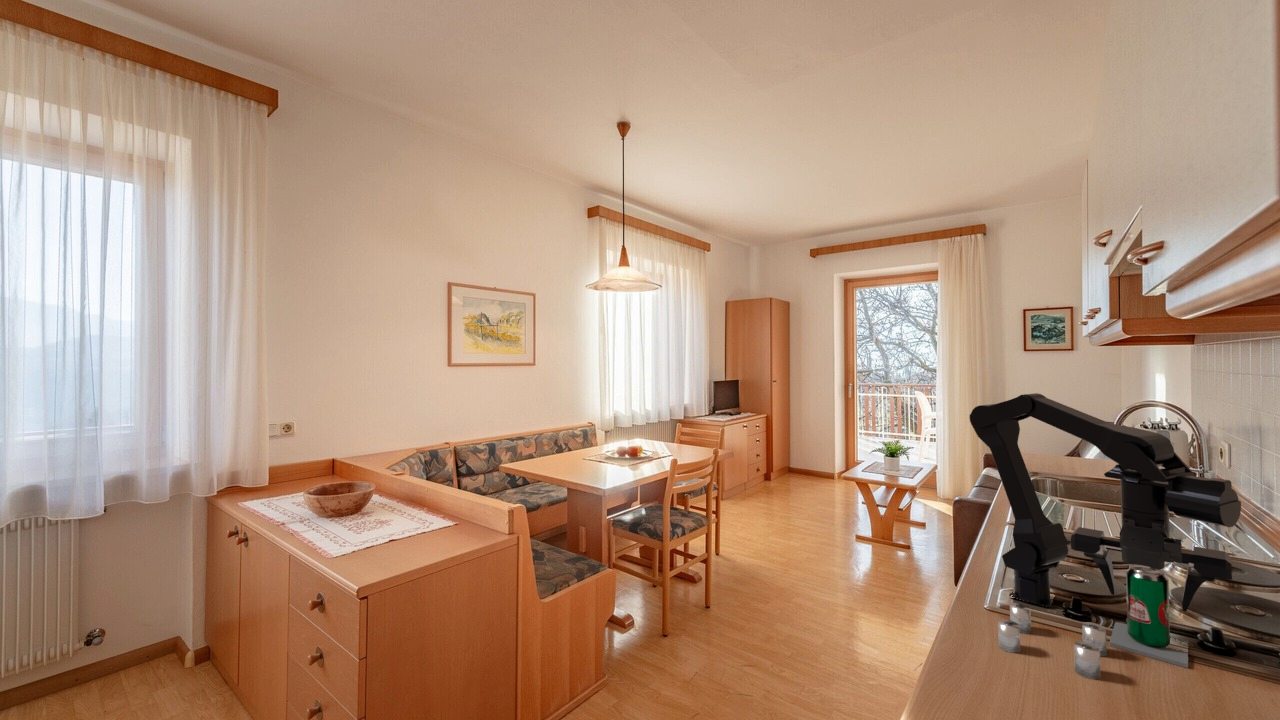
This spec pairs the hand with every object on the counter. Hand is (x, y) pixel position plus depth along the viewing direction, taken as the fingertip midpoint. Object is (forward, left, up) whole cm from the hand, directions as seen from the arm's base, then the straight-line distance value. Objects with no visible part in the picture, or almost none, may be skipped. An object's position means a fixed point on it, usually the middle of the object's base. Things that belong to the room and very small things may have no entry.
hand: (1147, 602), depth 86 cm
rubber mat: (0, 0, -7) cm, 7 cm away
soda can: (0, 0, -7) cm, 7 cm away
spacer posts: (+12, -11, -7) cm, 18 cm away
